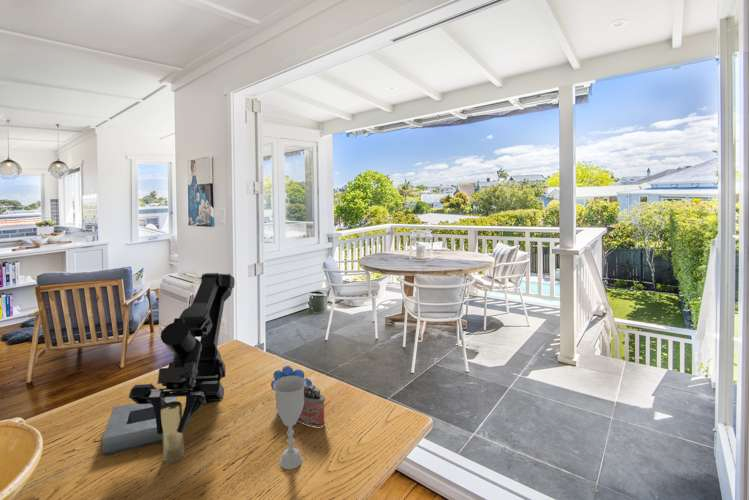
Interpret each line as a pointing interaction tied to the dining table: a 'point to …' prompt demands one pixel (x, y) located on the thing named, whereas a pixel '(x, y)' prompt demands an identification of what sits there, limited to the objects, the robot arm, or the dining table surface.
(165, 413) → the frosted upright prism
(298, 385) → the chalice
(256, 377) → the dining table surface
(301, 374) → the grapes
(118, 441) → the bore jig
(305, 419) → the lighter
